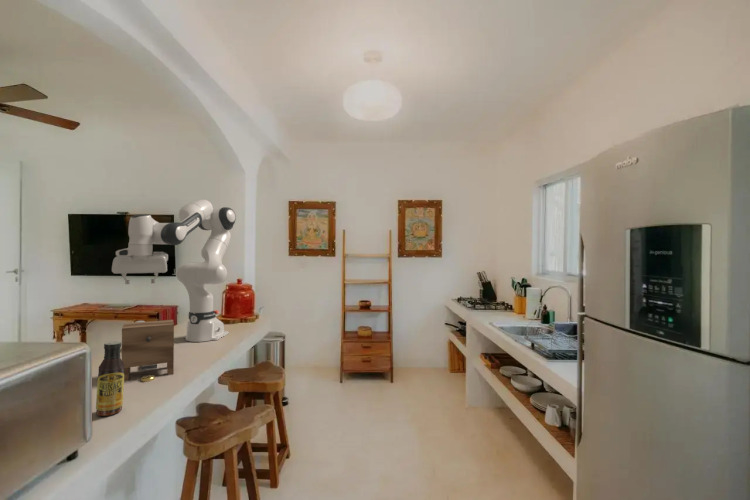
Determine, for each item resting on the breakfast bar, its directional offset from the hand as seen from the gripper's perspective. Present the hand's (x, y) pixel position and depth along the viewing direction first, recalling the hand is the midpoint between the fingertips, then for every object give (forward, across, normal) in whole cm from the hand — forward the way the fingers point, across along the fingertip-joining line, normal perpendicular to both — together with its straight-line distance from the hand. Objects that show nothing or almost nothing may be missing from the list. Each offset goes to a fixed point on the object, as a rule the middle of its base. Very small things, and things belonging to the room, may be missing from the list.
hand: (140, 283), depth 160 cm
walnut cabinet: (+31, -4, +28) cm, 42 cm away
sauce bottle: (+31, +4, +60) cm, 68 cm away
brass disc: (+32, -4, +35) cm, 47 cm away
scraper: (+31, -4, +13) cm, 34 cm away
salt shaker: (+31, +1, -11) cm, 33 cm away
